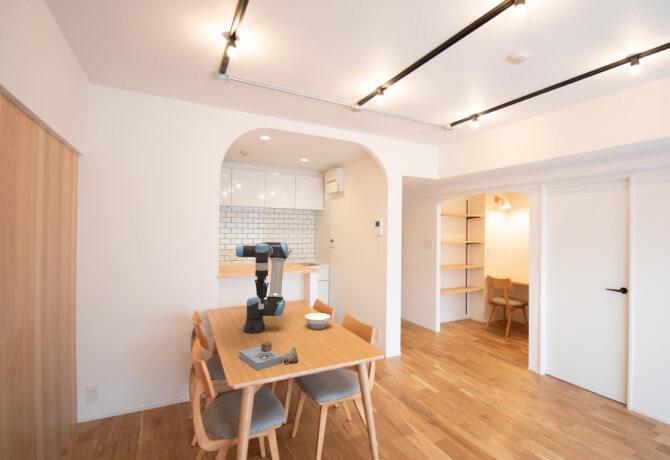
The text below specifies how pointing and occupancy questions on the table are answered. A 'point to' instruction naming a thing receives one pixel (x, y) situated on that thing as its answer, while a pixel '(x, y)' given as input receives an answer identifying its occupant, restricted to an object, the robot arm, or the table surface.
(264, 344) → the walnut cube
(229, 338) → the table surface
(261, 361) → the grey flat block
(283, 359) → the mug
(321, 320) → the bowl
